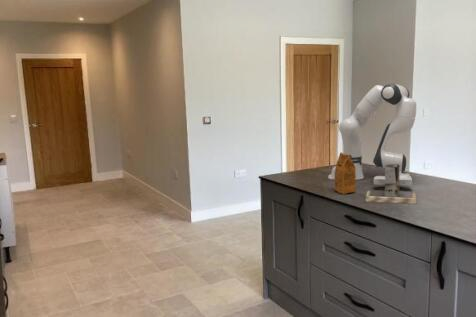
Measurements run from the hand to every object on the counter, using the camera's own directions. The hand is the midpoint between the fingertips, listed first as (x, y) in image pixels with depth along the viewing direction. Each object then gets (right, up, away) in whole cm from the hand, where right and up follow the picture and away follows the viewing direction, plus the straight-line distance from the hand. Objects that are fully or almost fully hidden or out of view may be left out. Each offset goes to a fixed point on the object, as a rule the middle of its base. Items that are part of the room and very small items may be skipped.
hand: (392, 183), depth 230 cm
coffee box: (-1, -6, -3) cm, 7 cm away
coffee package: (-23, -5, +9) cm, 26 cm away
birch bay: (-5, -7, -11) cm, 15 cm away
